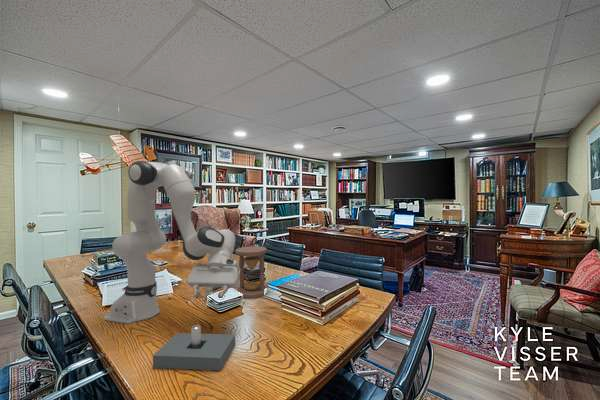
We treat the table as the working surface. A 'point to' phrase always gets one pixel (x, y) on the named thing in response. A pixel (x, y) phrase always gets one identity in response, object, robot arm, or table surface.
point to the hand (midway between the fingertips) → (208, 297)
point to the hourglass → (252, 287)
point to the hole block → (195, 352)
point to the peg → (196, 336)
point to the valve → (208, 292)
